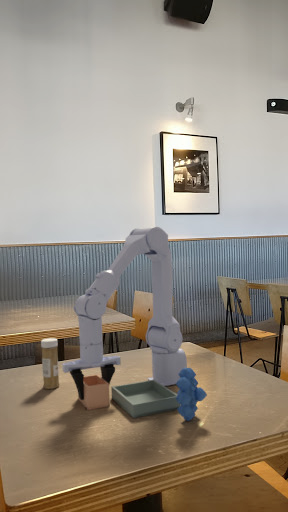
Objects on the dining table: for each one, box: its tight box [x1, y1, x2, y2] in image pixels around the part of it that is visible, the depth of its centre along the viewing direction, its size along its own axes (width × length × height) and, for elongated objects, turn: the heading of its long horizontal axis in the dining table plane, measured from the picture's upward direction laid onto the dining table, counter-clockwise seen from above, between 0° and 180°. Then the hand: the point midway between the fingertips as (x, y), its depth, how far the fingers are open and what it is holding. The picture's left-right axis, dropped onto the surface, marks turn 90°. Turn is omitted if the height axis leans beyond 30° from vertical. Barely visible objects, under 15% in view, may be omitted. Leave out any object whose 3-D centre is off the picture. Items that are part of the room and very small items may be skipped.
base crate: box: [111, 380, 180, 419], centre depth 109 cm, size 12×15×3 cm
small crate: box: [77, 373, 111, 411], centre depth 111 cm, size 6×9×6 cm, turn 23°
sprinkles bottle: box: [40, 337, 60, 390], centre depth 125 cm, size 5×5×14 cm
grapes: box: [175, 367, 208, 422], centre depth 97 cm, size 12×7×12 cm, turn 162°
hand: (93, 396), depth 111 cm, fingers closed on small crate, 5 cm apart
